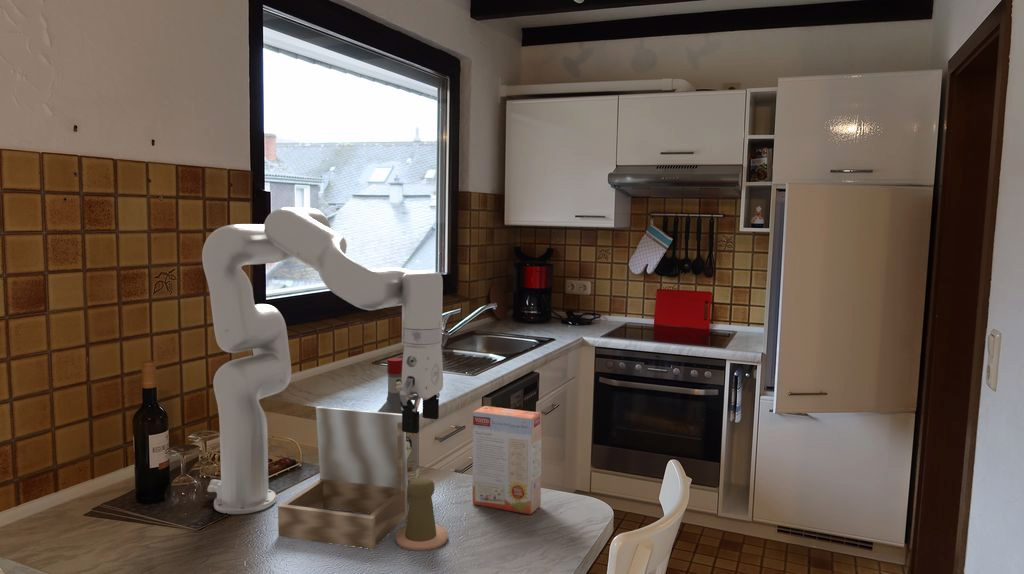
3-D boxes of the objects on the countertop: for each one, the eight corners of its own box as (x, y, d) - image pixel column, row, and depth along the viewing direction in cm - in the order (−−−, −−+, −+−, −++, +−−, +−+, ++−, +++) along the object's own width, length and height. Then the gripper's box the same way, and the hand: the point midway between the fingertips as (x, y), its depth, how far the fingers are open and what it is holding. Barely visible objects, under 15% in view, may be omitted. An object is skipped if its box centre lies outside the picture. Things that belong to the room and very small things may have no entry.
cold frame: (278, 536, 141) (276, 425, 139) (322, 504, 157) (320, 404, 155) (372, 549, 136) (371, 435, 134) (407, 515, 152) (407, 412, 149)
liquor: (368, 486, 168) (368, 358, 165) (404, 478, 173) (404, 354, 171) (386, 498, 161) (386, 364, 158) (423, 490, 166) (423, 360, 163)
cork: (440, 529, 143) (440, 475, 142) (430, 543, 137) (431, 486, 136) (411, 526, 144) (411, 472, 143) (400, 539, 138) (400, 483, 137)
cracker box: (541, 506, 158) (543, 411, 156) (530, 516, 152) (532, 418, 150) (484, 495, 164) (484, 403, 162) (471, 504, 158) (472, 410, 156)
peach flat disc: (386, 546, 137) (386, 541, 137) (408, 525, 147) (408, 520, 147) (436, 553, 135) (436, 548, 134) (455, 531, 144) (455, 526, 144)
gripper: (422, 345, 128) (421, 440, 129) (456, 331, 144) (455, 415, 146) (383, 342, 130) (382, 435, 131) (421, 328, 146) (420, 411, 148)
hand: (420, 425), depth 139 cm, fingers open, 9 cm apart
